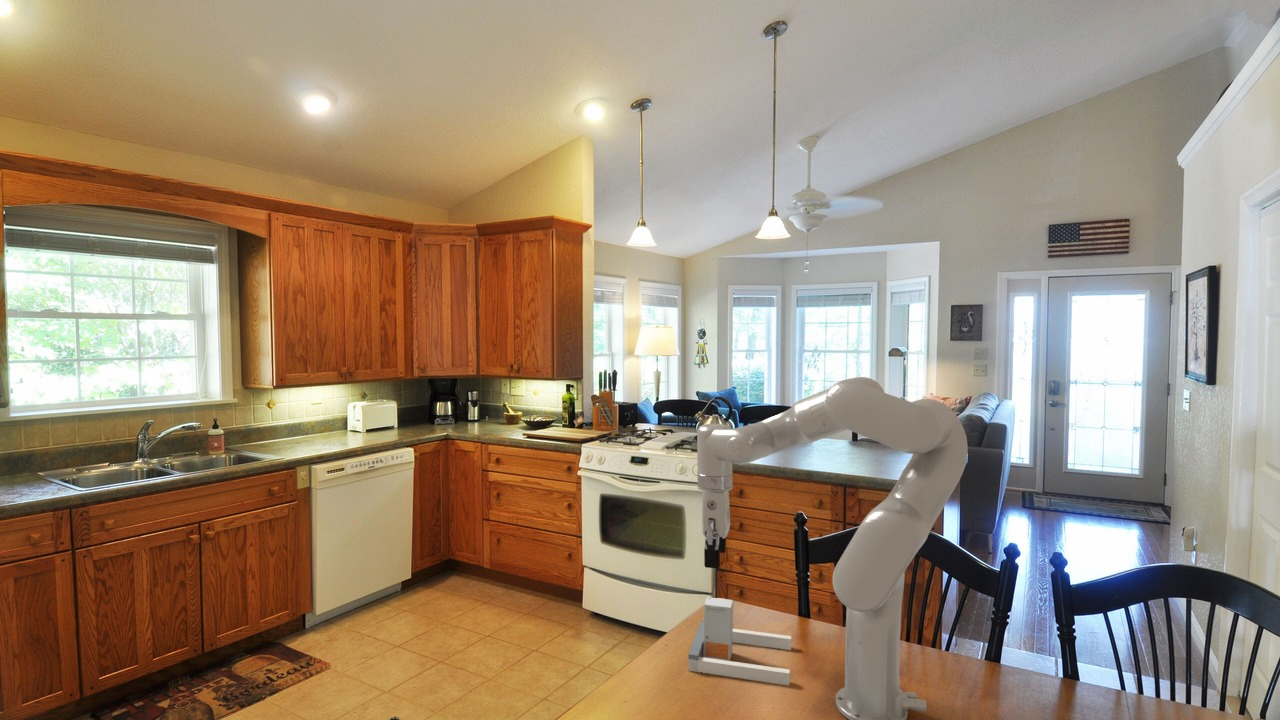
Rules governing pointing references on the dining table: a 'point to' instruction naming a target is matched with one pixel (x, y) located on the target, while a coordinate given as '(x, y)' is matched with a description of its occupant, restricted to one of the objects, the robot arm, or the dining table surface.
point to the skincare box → (718, 628)
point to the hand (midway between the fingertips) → (715, 559)
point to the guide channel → (737, 668)
